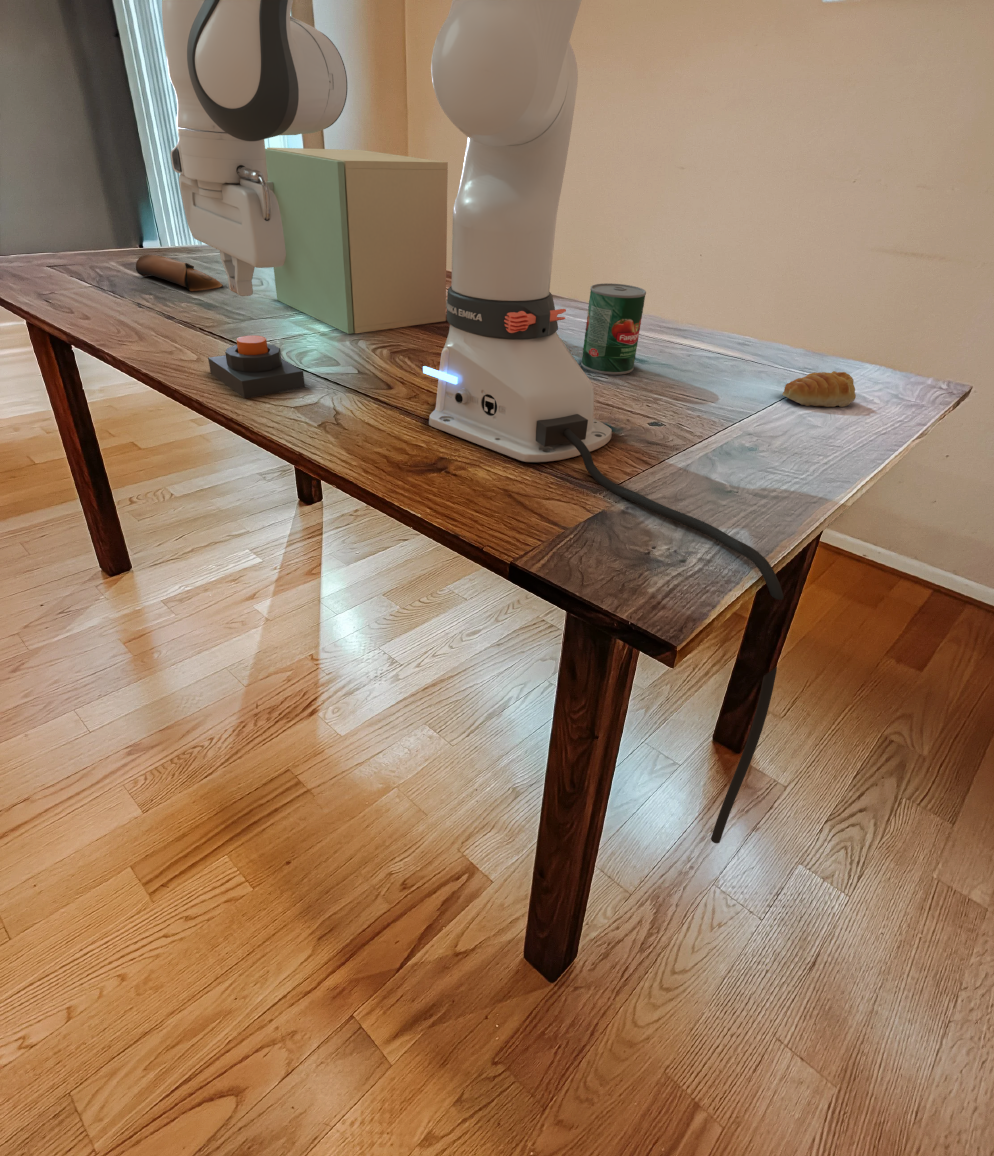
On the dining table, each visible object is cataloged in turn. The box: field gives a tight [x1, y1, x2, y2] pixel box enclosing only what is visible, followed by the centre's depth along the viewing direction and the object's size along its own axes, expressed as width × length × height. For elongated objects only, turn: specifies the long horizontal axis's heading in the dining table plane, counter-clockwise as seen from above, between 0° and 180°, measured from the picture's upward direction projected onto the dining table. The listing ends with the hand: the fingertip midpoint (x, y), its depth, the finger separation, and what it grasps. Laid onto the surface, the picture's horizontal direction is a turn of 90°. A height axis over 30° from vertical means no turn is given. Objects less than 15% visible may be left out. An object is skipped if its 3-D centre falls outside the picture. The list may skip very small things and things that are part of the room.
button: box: [236, 334, 268, 355], centre depth 88 cm, size 4×4×2 cm
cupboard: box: [266, 147, 449, 334], centre depth 118 cm, size 18×26×24 cm
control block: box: [207, 343, 306, 399], centre depth 89 cm, size 11×8×4 cm
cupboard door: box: [265, 148, 355, 335], centre depth 111 cm, size 7×26×24 cm, turn 39°
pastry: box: [782, 370, 857, 408], centre depth 95 cm, size 9×7×4 cm
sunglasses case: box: [135, 254, 224, 293], centre depth 134 cm, size 18×7×7 cm
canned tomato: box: [580, 282, 647, 376], centre depth 101 cm, size 8×8×11 cm
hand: (241, 293), depth 84 cm, fingers closed
